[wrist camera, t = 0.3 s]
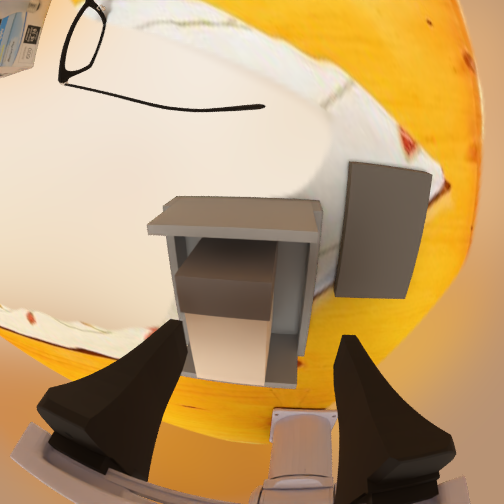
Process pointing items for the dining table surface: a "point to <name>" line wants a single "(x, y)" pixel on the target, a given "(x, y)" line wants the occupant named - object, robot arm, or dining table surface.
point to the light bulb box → (20, 33)
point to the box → (229, 307)
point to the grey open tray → (287, 270)
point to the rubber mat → (381, 230)
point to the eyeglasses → (65, 75)
